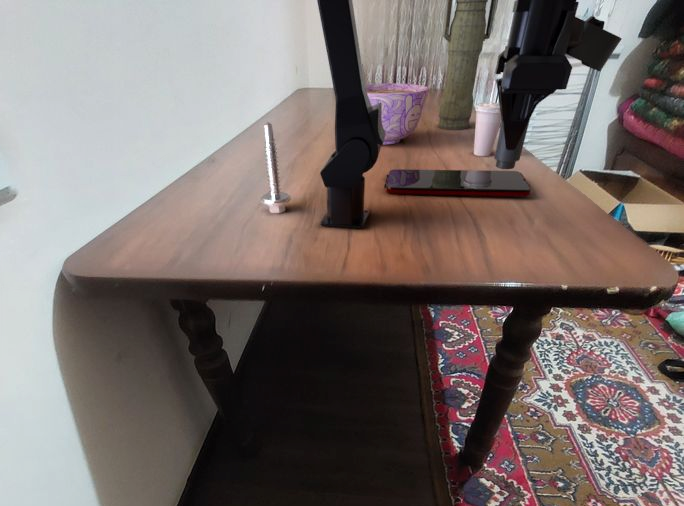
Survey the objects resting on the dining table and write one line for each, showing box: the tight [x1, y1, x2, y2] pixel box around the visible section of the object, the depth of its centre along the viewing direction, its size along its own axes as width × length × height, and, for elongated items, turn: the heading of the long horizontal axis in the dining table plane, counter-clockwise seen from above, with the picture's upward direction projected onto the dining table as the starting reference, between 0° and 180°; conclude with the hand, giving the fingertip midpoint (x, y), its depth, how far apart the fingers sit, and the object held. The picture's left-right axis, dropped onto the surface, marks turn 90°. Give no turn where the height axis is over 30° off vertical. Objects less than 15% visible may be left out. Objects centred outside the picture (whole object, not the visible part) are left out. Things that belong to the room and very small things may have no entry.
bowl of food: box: [365, 82, 430, 145], centre depth 101 cm, size 20×20×12 cm
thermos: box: [437, 0, 498, 131], centre depth 106 cm, size 9×12×35 cm
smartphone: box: [384, 168, 532, 198], centre depth 74 cm, size 12×2×25 cm
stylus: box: [494, 119, 531, 170], centre depth 52 cm, size 3×3×9 cm
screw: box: [260, 121, 292, 214], centre depth 63 cm, size 13×5×5 cm
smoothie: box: [473, 79, 502, 157], centre depth 88 cm, size 6×6×14 cm
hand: (509, 146), depth 53 cm, fingers closed on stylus, 3 cm apart
